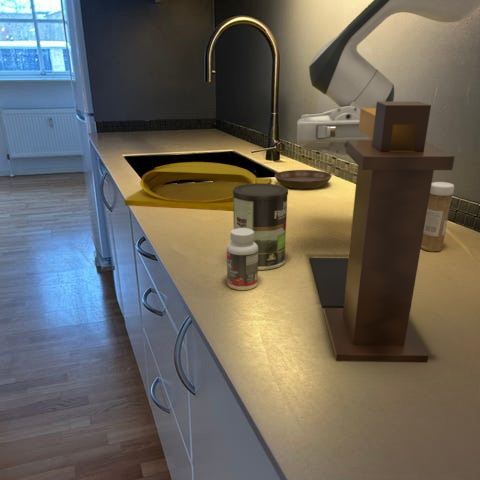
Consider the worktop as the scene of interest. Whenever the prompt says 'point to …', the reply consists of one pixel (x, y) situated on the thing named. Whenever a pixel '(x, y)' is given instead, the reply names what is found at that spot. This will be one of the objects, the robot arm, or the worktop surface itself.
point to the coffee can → (263, 219)
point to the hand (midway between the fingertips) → (359, 130)
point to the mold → (190, 172)
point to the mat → (330, 280)
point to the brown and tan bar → (396, 125)
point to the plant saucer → (303, 178)
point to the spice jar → (437, 216)
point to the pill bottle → (242, 260)
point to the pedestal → (384, 254)
